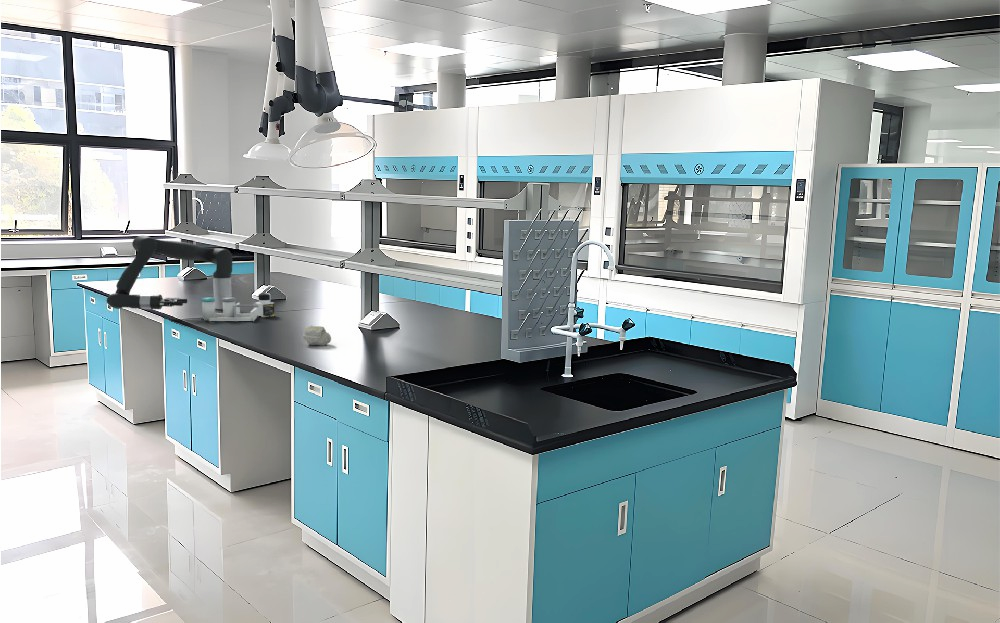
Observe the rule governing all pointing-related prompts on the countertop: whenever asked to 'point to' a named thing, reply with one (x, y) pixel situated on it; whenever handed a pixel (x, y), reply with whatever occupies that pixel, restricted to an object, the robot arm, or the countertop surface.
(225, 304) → the stock jar
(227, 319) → the lane
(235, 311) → the follower
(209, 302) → the jar
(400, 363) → the countertop surface
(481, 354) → the countertop surface
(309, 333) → the grey lumpy stone
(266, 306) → the medicine bottle
